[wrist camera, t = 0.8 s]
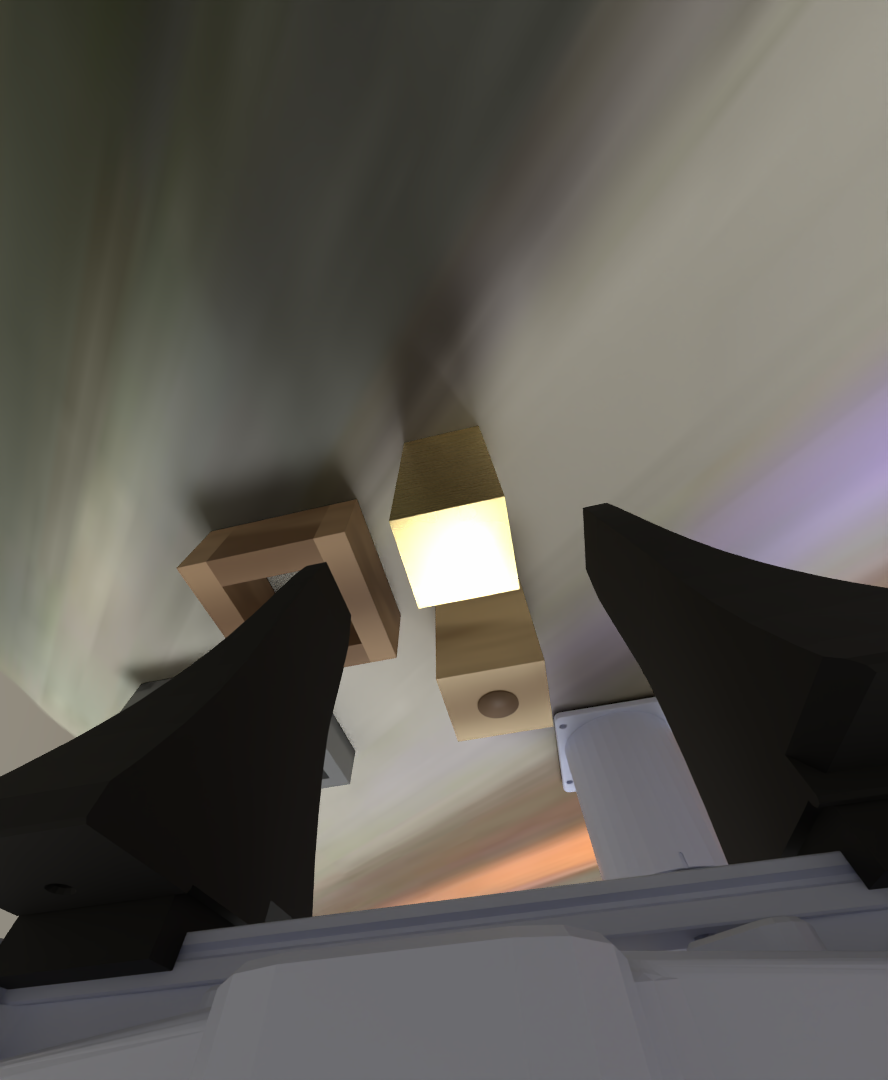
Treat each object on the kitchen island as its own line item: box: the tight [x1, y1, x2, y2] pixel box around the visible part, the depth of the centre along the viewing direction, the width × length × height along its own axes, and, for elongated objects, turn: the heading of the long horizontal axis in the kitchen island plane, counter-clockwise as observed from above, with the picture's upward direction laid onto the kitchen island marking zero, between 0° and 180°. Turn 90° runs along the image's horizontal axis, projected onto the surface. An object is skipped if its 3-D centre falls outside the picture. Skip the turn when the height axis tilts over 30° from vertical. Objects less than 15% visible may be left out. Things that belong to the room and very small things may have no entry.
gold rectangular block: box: [389, 426, 520, 608], centre depth 15 cm, size 3×3×7 cm
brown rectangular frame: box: [177, 499, 401, 667], centre depth 19 cm, size 7×7×3 cm
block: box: [435, 579, 553, 742], centre depth 20 cm, size 4×4×6 cm
